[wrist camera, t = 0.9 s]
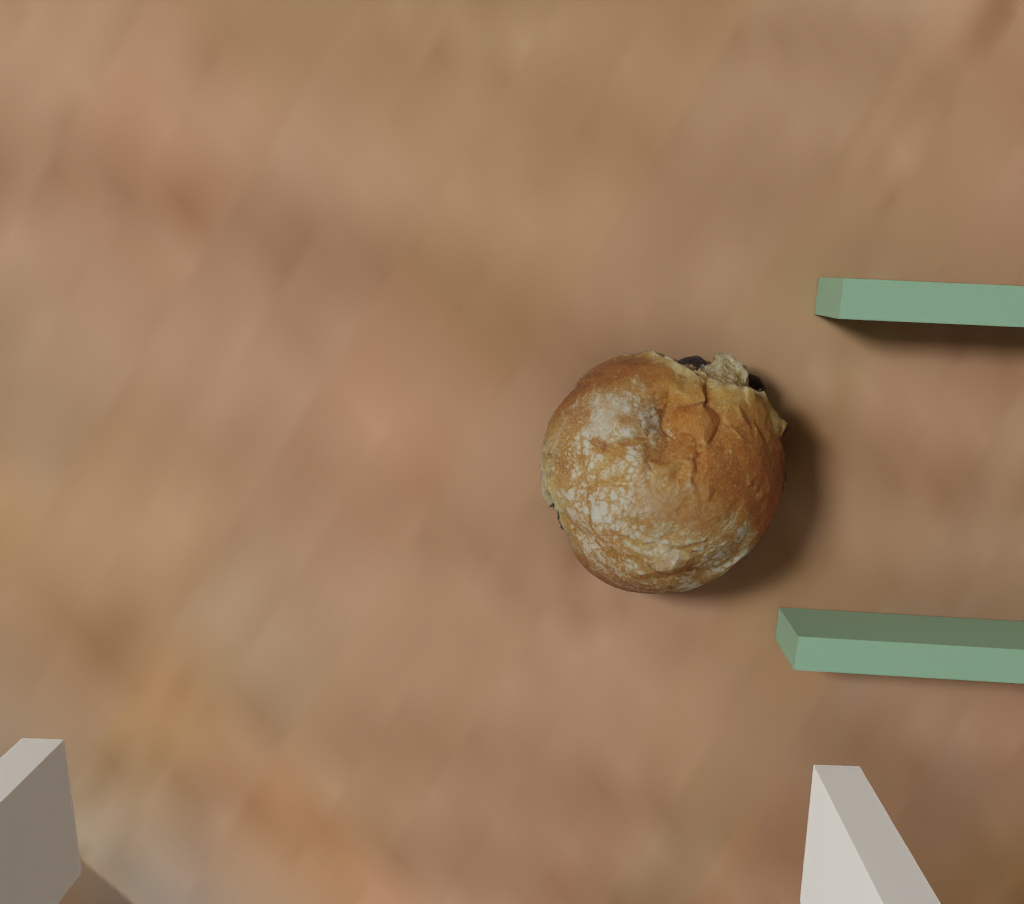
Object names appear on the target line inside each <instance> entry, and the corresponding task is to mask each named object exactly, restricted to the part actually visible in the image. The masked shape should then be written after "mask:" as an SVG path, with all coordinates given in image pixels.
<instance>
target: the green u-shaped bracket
mask: <svg viewBox="0 0 1024 904" xmlns="http://www.w3.org/2000/svg"><path fill="white" fill-rule="evenodd" d="M815 314H816V315H821V316H827V317H832V318H838V319H855V320H877V321H899V322H921V323H943V324H965V325H987V326H1009V327H1024V286H1007V285H985V284H962V283H939V282H916V281H893V280H871V279H848V278H825V277H819V282H818V290H817V298H816V306H815ZM775 639H776V641H777V642H778V644H779V646H780V647H781V649H782V651H783V652H784V654H785V656H786V657H787V659H788V661H789V662H790V664H791V665H792V667H793V669H794V670H805V671H822V672H838V673H855V674H872V675H888V676H905V677H922V678H938V679H955V680H971V681H988V682H1005V683H1021V684H1024V622H1022V621H1005V620H987V619H970V618H953V617H935V616H918V615H900V614H883V613H866V612H848V611H831V610H814V609H796V608H779V612H778V620H777V628H776V636H775Z"/></svg>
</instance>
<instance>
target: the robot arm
mask: <svg viewBox="0 0 1024 904" xmlns="http://www.w3.org/2000/svg"><path fill="white" fill-rule="evenodd" d="M81 873H82V870H81V862H80V855H79V847H78V840H77V833H76V825H75V818H74V810H73V803H72V796H71V788H70V781H69V774H68V766H67V759H66V751H65V744H64V740H59V739H30V738H22V739H21V740H20V741H19V742H17V743H16V744H15V745H14V746H13V747H12V748H11V749H10V750H9V751H8V752H7V753H5V754H4V755H3V756H2V757H1V758H0V904H58V903H59V901H60V900H61V899H62V897H63V896H64V895H65V894H66V892H67V891H68V890H69V888H70V887H71V886H72V884H73V883H74V882H75V881H76V879H77V878H78V876H79V875H80V874H81ZM800 903H801V904H940V902H939V900H938V898H937V897H936V895H935V893H934V892H933V890H932V888H931V887H930V885H929V883H928V882H927V880H926V878H925V876H924V875H923V873H922V871H921V870H920V868H919V866H918V865H917V863H916V861H915V860H914V858H913V856H912V854H911V853H910V851H909V849H908V848H907V846H906V844H905V843H904V841H903V839H902V838H901V836H900V834H899V832H898V831H897V829H896V827H895V826H894V824H893V822H892V821H891V819H890V817H889V816H888V814H887V812H886V810H885V809H884V807H883V805H882V804H881V802H880V800H879V799H878V797H877V795H876V794H875V792H874V790H873V788H872V787H871V785H870V783H869V782H868V780H867V778H866V777H865V775H864V773H863V771H862V770H861V768H860V766H834V765H814V766H813V776H812V786H811V796H810V806H809V816H808V826H807V836H806V846H805V857H804V867H803V877H802V887H801V897H800Z"/></svg>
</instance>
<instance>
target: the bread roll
mask: <svg viewBox="0 0 1024 904" xmlns="http://www.w3.org/2000/svg"><path fill="white" fill-rule="evenodd" d="M714 355H715V357H714V358H713V359H712V360H711V363H710V364H707V363H706V362H705V360H704V359H702V358H701V357H699V356H692V357H686V358H683V359H681V360H678V361H676V360H673V359H671V358H669V357H667V356H665V355H663V354H660V353H656V352H655V351H649V352H642V353H639V354H628V353H624V354H623V355H621V356H618V357H616V358H613V359H610V360H608V361H606V362H604V363H602V364H600V365H598V366H596V367H594V368H593V369H591V370H590V371H588V372H587V373H586V374H585V375H584V376H583V377H582V378H581V379H580V380H579V381H578V383H577V384H576V385H575V388H574V390H573V391H572V392H571V393H570V394H569V395H568V396H567V397H566V398H565V399H564V400H563V402H562V403H561V404H560V406H559V407H558V408H557V410H556V411H555V413H554V414H553V416H552V417H551V419H550V421H549V423H548V427H547V431H546V435H545V440H544V442H543V447H542V460H541V464H540V467H541V471H542V473H541V481H542V483H541V491H542V495H543V498H544V499H545V501H546V503H547V505H548V507H549V508H550V507H552V506H555V510H556V511H557V513H558V521H559V523H560V524H561V528H562V529H563V530H564V532H565V533H566V535H567V536H568V539H569V543H570V546H571V548H572V550H573V552H574V554H575V556H576V558H577V559H578V560H579V561H580V563H581V564H582V565H583V566H584V567H585V568H586V569H587V570H588V571H589V572H590V573H591V574H593V575H594V576H596V577H597V578H598V579H600V580H601V581H603V582H605V583H607V584H609V585H611V586H614V587H616V588H619V589H622V590H626V591H630V592H637V593H655V594H668V593H674V592H682V591H688V590H692V589H696V588H698V587H700V586H703V585H705V584H707V583H710V582H713V581H714V580H715V578H717V577H719V576H722V575H724V574H725V573H726V572H727V571H728V570H729V569H730V568H731V567H732V566H733V565H734V564H736V563H737V562H738V561H739V560H740V559H742V558H743V557H744V556H746V555H747V554H748V553H749V552H750V551H751V550H752V548H754V547H755V546H756V545H757V544H758V542H759V541H760V540H761V538H762V536H763V534H764V532H765V531H766V530H767V529H768V528H769V527H770V525H771V521H772V518H773V516H774V514H775V511H776V509H777V507H778V504H779V502H780V500H781V496H782V492H783V484H784V481H786V480H787V477H786V473H785V453H784V449H783V445H782V443H781V441H780V439H781V436H782V435H783V434H784V433H785V432H786V431H787V430H788V427H789V426H788V424H787V422H785V421H784V420H783V419H782V418H781V417H780V416H779V415H778V414H777V412H776V411H775V410H774V409H773V408H772V406H771V404H770V402H769V400H768V398H767V396H766V394H765V389H766V388H765V386H764V385H763V383H762V382H761V380H760V379H759V377H757V376H754V375H751V374H750V373H749V370H748V369H747V367H746V366H745V365H742V364H741V363H739V362H738V361H737V360H736V359H735V358H734V357H733V356H732V355H730V354H721V353H715V354H714ZM708 389H709V390H708Z"/></svg>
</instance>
